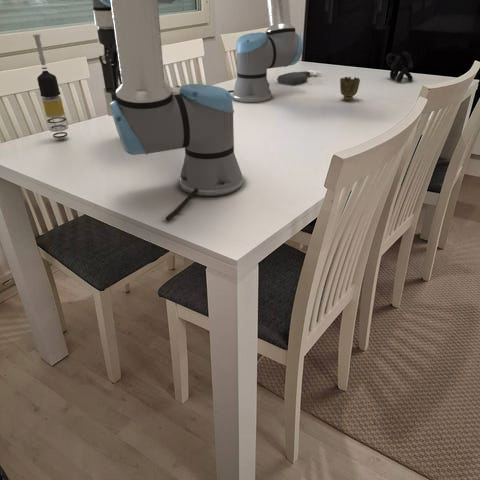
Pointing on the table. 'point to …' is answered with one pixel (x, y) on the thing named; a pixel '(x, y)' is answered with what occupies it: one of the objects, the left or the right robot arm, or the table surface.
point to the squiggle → (399, 66)
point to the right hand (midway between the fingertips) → (351, 23)
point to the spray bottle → (295, 77)
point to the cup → (349, 87)
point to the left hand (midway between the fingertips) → (123, 112)
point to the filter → (50, 95)
